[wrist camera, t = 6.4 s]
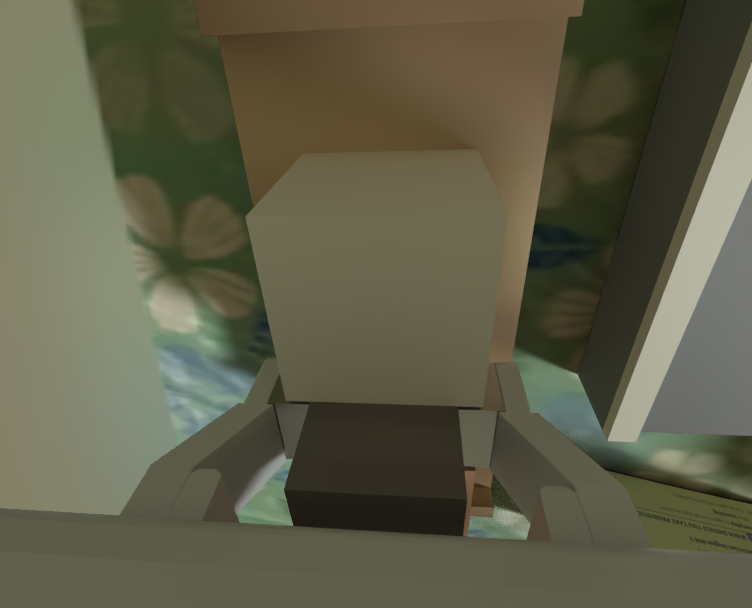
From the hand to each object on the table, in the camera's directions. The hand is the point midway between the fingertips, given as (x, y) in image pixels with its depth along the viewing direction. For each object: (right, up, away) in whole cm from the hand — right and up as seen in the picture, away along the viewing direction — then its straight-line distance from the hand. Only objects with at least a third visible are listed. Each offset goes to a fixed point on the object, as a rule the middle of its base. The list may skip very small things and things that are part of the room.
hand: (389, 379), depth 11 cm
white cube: (0, +4, 0) cm, 4 cm away
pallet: (0, +2, +3) cm, 4 cm away
